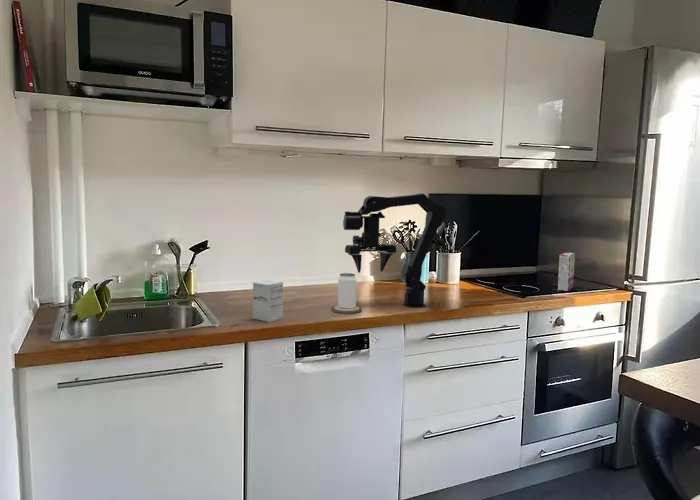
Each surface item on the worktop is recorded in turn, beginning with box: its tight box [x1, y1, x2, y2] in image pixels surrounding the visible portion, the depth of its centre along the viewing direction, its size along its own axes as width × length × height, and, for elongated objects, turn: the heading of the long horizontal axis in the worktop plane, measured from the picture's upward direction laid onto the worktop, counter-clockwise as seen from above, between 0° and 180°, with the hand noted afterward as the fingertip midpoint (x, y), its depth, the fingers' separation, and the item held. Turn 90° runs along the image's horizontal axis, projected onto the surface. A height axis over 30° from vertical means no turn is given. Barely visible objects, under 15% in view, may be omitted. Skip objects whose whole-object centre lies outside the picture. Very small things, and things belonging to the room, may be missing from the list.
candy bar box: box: [557, 252, 576, 292], centre depth 254 cm, size 11×5×16 cm, turn 148°
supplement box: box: [252, 279, 284, 323], centre depth 191 cm, size 7×7×13 cm
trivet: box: [331, 305, 363, 315], centre depth 206 cm, size 11×11×1 cm
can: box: [337, 272, 357, 309], centre depth 205 cm, size 6×6×12 cm
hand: (370, 271), depth 212 cm, fingers open, 9 cm apart
